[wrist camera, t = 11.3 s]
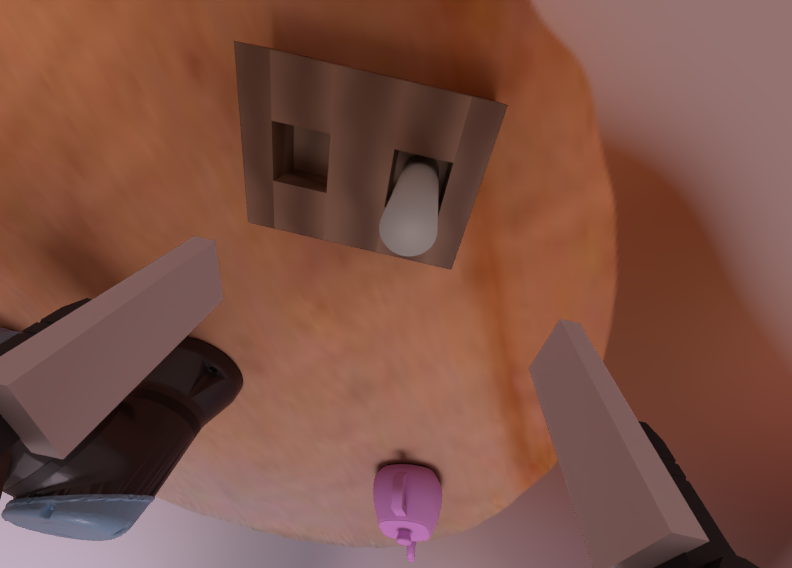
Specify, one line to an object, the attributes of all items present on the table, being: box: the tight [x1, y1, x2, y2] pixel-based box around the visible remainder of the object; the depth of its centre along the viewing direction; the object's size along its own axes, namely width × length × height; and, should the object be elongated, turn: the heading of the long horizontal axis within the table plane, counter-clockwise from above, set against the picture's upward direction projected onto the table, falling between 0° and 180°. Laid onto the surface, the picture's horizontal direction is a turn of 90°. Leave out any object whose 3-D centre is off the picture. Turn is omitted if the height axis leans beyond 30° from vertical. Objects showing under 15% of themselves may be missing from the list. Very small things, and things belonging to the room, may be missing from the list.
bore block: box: [234, 41, 508, 269], centre depth 29 cm, size 20×14×6 cm
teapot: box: [373, 464, 442, 562], centre depth 60 cm, size 13×20×11 cm, turn 10°
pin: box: [379, 155, 439, 256], centre depth 24 cm, size 3×3×14 cm
